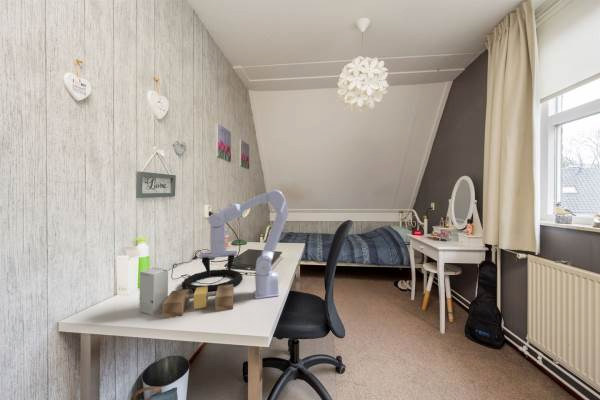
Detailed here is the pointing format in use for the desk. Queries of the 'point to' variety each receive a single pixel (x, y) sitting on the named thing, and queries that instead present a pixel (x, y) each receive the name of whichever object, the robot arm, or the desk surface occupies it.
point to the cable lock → (213, 273)
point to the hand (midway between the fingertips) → (219, 275)
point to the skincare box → (153, 290)
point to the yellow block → (200, 297)
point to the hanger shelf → (180, 298)
